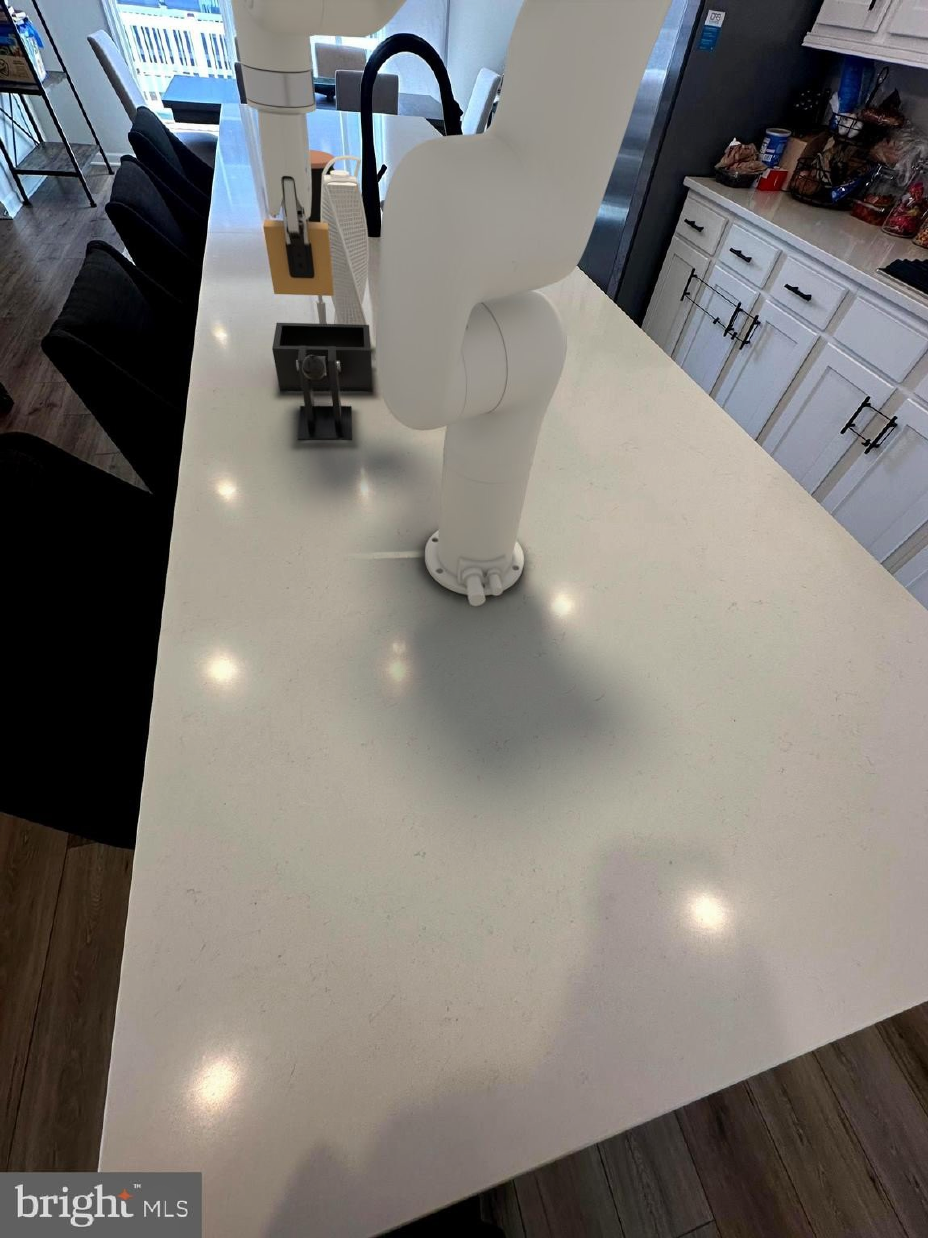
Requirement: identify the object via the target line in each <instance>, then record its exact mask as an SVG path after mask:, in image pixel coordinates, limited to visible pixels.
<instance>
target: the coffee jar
mask: <svg viewBox="0 0 928 1238" xmlns="http://www.w3.org/2000/svg"><path fill="white" fill-rule="evenodd" d="M309 150H310V162H311V180H312V199H311V214H310V217H309V218H308V219H309V222H321V186H322V173H323V170H324V168H325V166H326V165H327V163H328V162H329V161H330V160H332V159H333V158H335V157H336V156H334V155H333V154H331V153H329V152H327V151H321V150H316V149H315V150H314V149H309ZM335 164H336V162H334V163H333V164H332V165H331V166H330V167H329V169H328V170H327V173H326V175H330V172H331V171H333V170H336V169H335V168H334V166H335Z"/></svg>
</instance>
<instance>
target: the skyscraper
mask: <svg viewBox="0 0 928 1238" xmlns="http://www.w3.org/2000/svg"><path fill="white" fill-rule="evenodd" d="M334 157H335V158H333V159H332V160H330V161H329V162H328V163H327V165H326V166H325V168H324V170H323V173H322V186H321V222H322V223H328V229H329V240H330V251H331V263H332V274H333V286H334V296H330V297H331V301H332V304H333V308H334V317H333V324H355V325H368V322H367V319H366V315H365V311H364V307H363V303H364V298H365V293H366V288H367V280H368V275H369V273H368V272H369V261H370V260H369V258H370V255H369V254H370V253H369V251H370V249H369V247H370V246H369V231H368V225H367V217H366V213H365V207H364V202H363V201H364V200H363V195H362V191H361V190H362V189H361V186H360V185H361V183H360V182H359V180H358V176H359V171H360V167H361V162H362V160H361V158H360V157H358V156H356V155H349V154H346V155H345V154H344V155H339V156H334ZM344 160H351V161H352V160H353V161H356V166H355V171H354V174H353V175H350V172H349V171H347V170H344V169H343V170H342V169H335V170H333V171H331V172H330V175H326V173H327V170H328V169H329V167H330V166H331V165H332V164H333V163H334V162H335V163H337V162H339V161H344ZM317 298H318V299H317V300H316V301H315V303H316V309H317V315H318V324H328V322H327V308H326V307H327V306H326V302H325V300H323V296H321V295H317ZM370 346H371V351H374V345H373V341H372V338H371V337H370Z"/></svg>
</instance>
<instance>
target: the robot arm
mask: <svg viewBox="0 0 928 1238" xmlns="http://www.w3.org/2000/svg"><path fill="white" fill-rule="evenodd" d="M407 1H408V0H230V4H231V10H232V16H233V22H234V29H235V35H236V40H237V42H236V43H237V47H238V53H239V61H240V68H241V74H242V79H243V85H244V86H243V87H244V92H245V98H246V104H247V106H249V108H251V109H254V110H256V111H257V123H258V135H259V143H260V151H261V160H262V167H263V173H264V183H265V189H266V190H265V191H266V196H267V205H268V213H269V215H270V217H271V218H273V219H276V217H277V216H280V213H281V212H282V213H281V214H282V221H284V228H285V236H286V242H285V244H286V252H287V259H288V266H289V273H290V276H291V277H292V278H314V265H313V256H312V247H311V243H309V239H308V230H307V222H309V219H308V218H309V217H310V214H311V199H312V180H311V162H310V150H311V149H310V140H309V129H308V120H307V119H308V118H307V114H309V113H313V112H315V111H316V110H317V103H316V102H317V101H316V92H315V80H314V79H315V78H314V68H313V58H312V48H311V47H312V46H311V37H314V36H322V37H323V36H324V37H345V38H364V37H368V36H371V35H375V34H376V33H378V32H380V31H381V30H382V29H383V28H384V27H385V26H387V25H388V24H389V22H391V20H392V19H393V18H394V17H395V16H396V14H397V13H399V11H400V9H402V7H403V6H404V5H405V3H406V2H407ZM673 2H674V0H523V2H522V4H521V7H520V9H519V11H518V14H517V16H516V19H515V22H514V25H513V29H512V32H511V35H510V38H509V43H508V46H507V52H506V57H505V64H504V70H503V78H502V83H501V88H500V93H499V96H498V97H499V98H498V101H497V105H496V108H495V113H494V115H493V119H492V121H491V123H490V125H489V126H488V127H487V128H486V130H485V131H484V132H482V133H470V134H455V135H446V136H445V135H443V136H438V137H434V138H431V139H427V140H424V141H422V142H420V143H419V144H416V145H415V146H414V147H412V148H410V150H409V151H408V152H406V153H405V154H404V155H403V157H402V158H401V160H400V161H399V163H398V164H397V166H396V167H395V170H394V171H393V173H392V175H391V178H390V181H389V183H388V186H387V190H386V193H385V196H384V201H383V207H382V213H381V214H382V215H381V224H380V225H381V227H380V239H379V240H380V241H379V260H378V261H379V262H378V283H377V303H376V304H377V305H376V325H375V326H376V329H375V367H376V374H377V381H378V384H379V385H378V386H379V390H380V393H381V397H382V398H383V401H384V404H385V405H386V407H387V409H388V410H389V411H388V412H390V414H391V415H392V416H393V417H394V419H395V420H396V421H398V422H399V423H400V424H401V425H402V426H405V427H407V428H409V429H412V430H416V431H432V430H437V429H440V428H445V427H446V429H445V434H444V440H443V441H444V442H443V451H442V452H443V453H442V468H441V471H442V472H441V483H440V501H439V502H440V503H439V518H438V529H437V530H436V531H435V532H433V534H431V536H430V537H429V538H428V540H427V542H426V544H425V549H424V563H425V566H426V570H427V571H428V573H429V575H430V576H431V577H432V578H433V579H434V580H435V581H436V582H437V583H439V584H440V585H441V586H443V587H444V588H446V589H448V590H449V591H451V592H452V591H453V592H455V593H458V594H461V595H466V596H467V599H468V603H469V604H470V605H471V606H473V607H479V606H481V605H483V604H485V602H486V596H490V595H492V596H495V597H496V596H500V595H502V594H503V592H504V591H506V590H507V589H509V588H511V587H512V586H513V585H514V584H515V583H516V582H517V581H518V580H519V578H520V577H521V575H522V572H523V570H524V569H523V568H524V565H525V555H524V550H523V549H522V546H521V544H520V543H519V541H518V540H517V537H518V532H519V528H520V522H521V517H522V513H523V507H524V504H525V498H526V495H527V494H526V493H527V489H528V483H529V479H530V474H531V470H532V467H533V462H534V457H535V452H536V448H537V444H538V439H539V435H540V432H541V428H542V424H543V422H544V418H545V416H546V413H547V410H548V408H549V406H550V403H551V401H552V398H553V396H554V394H555V392H556V389H557V387H558V384H559V382H560V379H561V376H562V373H563V370H564V368H565V367H564V366H565V363H566V357H567V349H568V338H567V337H568V335H567V334H568V333H567V329H566V324H565V320H564V318H563V316H562V313H561V310H560V309H559V308H558V306H557V305H556V303H555V302H554V301H553V300H552V299H551V298H550V297H549V296H547V295H546V294H545V293H543V292H542V291H540V289H543V288H546V287H548V286H549V287H550V286H551V285H554V284H557V283H559V282H560V281H562V280H564V279H565V278H567V277H568V276H569V275H571V273H572V272H574V270H575V269H576V267H577V266H578V264H579V263H580V261H581V259H582V257H583V255H584V252H585V250H586V248H587V245H588V243H589V240H590V237H591V234H592V231H593V229H594V226H595V223H596V220H597V217H598V214H599V211H600V208H601V205H602V202H603V199H604V196H605V194H606V191H607V187H608V184H609V181H610V179H611V176H612V172H613V170H614V167H615V164H616V161H617V158H618V154H619V152H620V149H621V146H622V143H623V140H624V138H625V134H626V132H627V128H628V126H629V123H630V119H631V115H632V112H633V109H634V105H635V102H636V100H637V96H638V94H639V93H638V92H639V89H640V87H641V84H642V80H643V78H644V75H645V72H646V69H647V67H648V65H649V61H650V59H651V56H652V53H653V51H654V49H655V46H656V43H657V41H658V39H659V36H660V33H661V31H662V27H663V26H664V23H665V21H666V19H667V16H668V14H669V11H670V9H671V7H672V4H673ZM299 223H302V225H299ZM433 540H434V541H433ZM435 540H436V541H435Z"/></svg>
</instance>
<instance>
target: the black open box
mask: <svg viewBox="0 0 928 1238" xmlns="http://www.w3.org/2000/svg"><path fill="white" fill-rule="evenodd" d="M370 338H371V331H370V325H369V324H367V325H355V324H334V323H327V324H319V323H314V322H313V323H310V322H309V323H308V322H307V323H306V322H276V323H275V330H274V336H273V342H272V347H271V349H272V355H273V361H274V367H275V371H276V377H277V382H278V388H279V391H280V392H303V391H302V384H301V377H300V371H297V366H296V360H298V356H299V346H307V352H308V356H309V355H316V356H326V357H327V370H328V375H324V376H323V377H322V378H321V379H320V380H311V381H312V388H313V392H331V385H330V376H329V367H328V347H329V346H335V347H336V356H337V361H340V368H341V371H338V377H339V388H340V392H357V393H358V392H360V393H361V392H364V393H365V392H370V393H371V392H374V390H373V369H372V350H371V346H370Z"/></svg>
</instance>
